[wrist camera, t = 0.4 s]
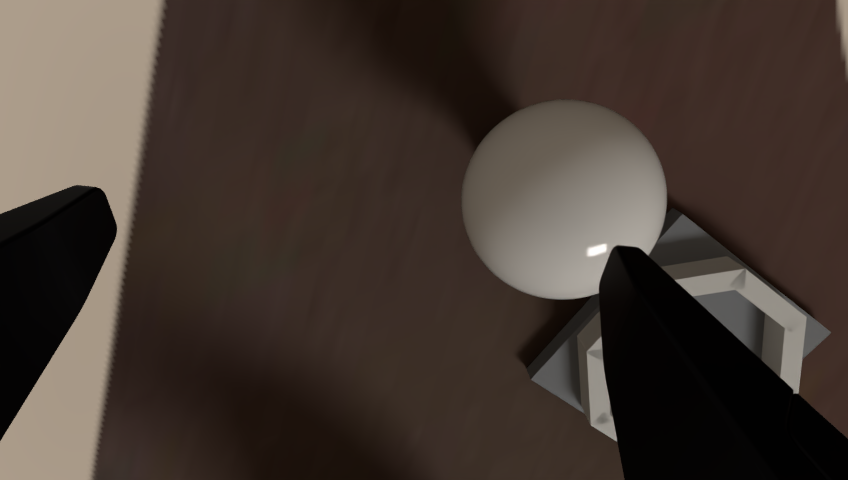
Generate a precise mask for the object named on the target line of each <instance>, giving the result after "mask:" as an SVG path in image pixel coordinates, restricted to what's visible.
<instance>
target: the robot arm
mask: <svg viewBox="0 0 848 480" xmlns="http://www.w3.org/2000/svg"><path fill="white" fill-rule="evenodd" d="M116 233H117V225H116V222H115V219H114V216H113V214H112V211H111V208H110V205H109V203H108V200H107V197H106V195H105V193H104V192H103V191H102V190H101V189H100V188H97V187H89V186H81V185H76V186H72V187H70V188H67V189H64V190H62V191H59V192H56V193H54V194H51V195H49V196H46V197H44V198H41V199H38V200H36V201H33V202H30V203H28V204H25V205H23V206H20V207H17V208H15V209H12V210H10V211H7V212H4V213H2V214H0V441H1V439H2V437H3V435H4V434H5V432H6V431H7V429H8V428H9V426H10V424H11V423H12V421H13V419H14V418H15V416H16V415H17V413H18V411H19V410H20V408H21V407H22V405H23V403H24V402H25V400H26V398H27V397H28V395H29V394H30V392H31V390H32V389H33V387H34V385H35V384H36V382H37V381H38V379H39V377H40V375H41V374H42V373H43V371H44V369H45V368H46V366H47V364H48V363H49V361H50V360H51V358H52V356H53V355H54V353H55V351H56V350H57V348H58V347H59V345H60V343H61V342H62V340H63V338H64V337H65V335H66V334H67V332H68V330H69V329H70V327H71V326H72V324H73V322H74V320H75V319H76V317H77V316H78V314H79V312H80V310H81V309H82V307H83V305H84V303H85V301H86V299H87V297H88V295H89V293H90V291H91V289H92V287H93V285H94V282H95V280H96V278H97V276H98V274H99V272H100V270H101V267H102V265H103V263H104V261H105V259H106V257H107V255H108V253H109V251H110V248H111V246H112V244H113V242H114V240H115V237H116ZM599 306H600V322H601V338H602V354H603V365H604V373H605V379H606V385H607V390H608V395H609V400H610V405H611V411H612V416H613V421H614V426H615V431H616V437H617V442H618V447H619V452H620V458H621V463H622V468H623V473H624V478H625V480H848V438H847V437H845V436H844V435H843V434H842V433H841V432H840V431H839V430H838V429H836V428H835V427H834V426H833V425H832V424H831V423H830V422H829V421H827V420H826V419H825V418H824V417H823V416H822V415H821V414H820V413H818V412H817V411H816V410H815V409H814V408H813V407H812V406H811V405H810V404H809V403H808V402H807V401H805V400H804V399H803V398H802V397H801V396H800V395H799V394H797V393H795V394H793V393H794V390H793V389H792V388H791V387H790V386H789V385H788V384H787V383H786V382H785V381H784V380H783V379H781V378H780V377H779V376H778V375H777V374H776V373H775V372H774V371H773V370H772V369H771V368H770V367H768V366H767V365H766V364H765V363H764V362H763V361H762V360H761V359H760V358H759V357H758V356H757V355H755V354H754V353H753V352H752V351H751V350H750V349H749V348H748V347H747V346H746V345H745V344H744V343H742V342H741V341H740V340H739V339H738V338H737V337H736V336H735V335H734V334H733V333H732V332H731V331H729V330H728V329H727V328H726V327H725V326H724V325H723V324H722V323H721V322H720V321H719V320H718V319H716V318H715V317H714V316H713V315H712V314H711V313H710V312H709V311H708V310H707V309H706V308H705V307H703V306H702V305H701V304H700V303H699V302H698V301H697V300H696V299H695V298H694V297H693V296H692V295H690V294H689V293H688V292H687V291H686V290H685V289H684V288H683V287H682V286H681V285H680V284H679V283H677V282H676V281H675V280H674V279H673V278H672V277H671V276H670V275H669V274H668V273H667V272H666V271H664V270H663V269H662V268H661V267H660V266H659V265H658V264H657V263H656V262H655V261H654V260H653V259H651V258H650V257H649V256H648V255H647V254H646V253H645V252H644V251H643V250H642V249H640V248H638V247H633V246H624V245H616V246H615V247H613V249H612V250H611V252H610V255H609V258H608V260H607V263H606V265H605V268H604V271H603V273H602V276H601V279H600V283H599Z"/></svg>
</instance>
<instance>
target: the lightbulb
mask: <svg viewBox="0 0 848 480" xmlns="http://www.w3.org/2000/svg"><path fill="white" fill-rule="evenodd" d="M666 209H667V186H666V180H665V175H664V172H663V168H662V165H661V163H660V160H659V158H658V156H657V154H656V152H655V150H654V148H653V147H652V145H651V143H650V142H649V141H648V139H647V138H646V137H645V135H644V134H643V133H642V132H641V131H640V130H639V129H638V128H637V127H636V126H635V125H634V124H633V123H632V122H630V121H629V120H628V119H626V118H625V117H623V116H622V115H620V114H619V113H617V112H615V111H613V110H611V109H609V108H607V107H604V106H602V105H599V104H595V103H592V102H587V101H581V100H571V99H561V100H550V101H545V102H540V103H537V104H533V105H530V106H528V107H525V108H523V109H521V110H518V111H517V112H515V113H513V114H511V115H510V116H508V117H506V118H505V119H504V120H502V121H501V122H500V123H498V124H497V125H496V126H495V127H494V128H493V129H492V130H491V131H490V132H489V133H488V134H487V135H486V136H485V137H484V139H483V140H482V141H481V142H480V144H479V145H478V147H477V148H476V150H475V152H474V153H473V155H472V157H471V159H470V161H469V164H468V166H467V169H466V172H465V176H464V180H463V185H462V192H461V210H462V218H463V223H464V227H465V230H466V233H467V236H468V238H469V241H470V243H471V245H472V247H473V249H474V250H475V252H476V254H477V255H478V257H479V258H480V259H481V261H482V262H483V263H484V264H485V266H486V267H487V268H488V269H489V270H490V271H491V272H492V273H493V274H494V275H496V276H497V277H498V278H499V279H501V280H502V281H503V282H505V283H506V284H508V285H510V286H511V287H513V288H515V289H517V290H519V291H522V292H524V293H527V294H530V295H533V296H537V297H541V298H547V299H557V300H567V299H578V298H583V297H588V296H592V295H595V294H598V293H599V283H600V279H601V276H602V273H603V271H604V268H605V265H606V263H607V260H608V258H609V255H610V252H611V250H612V249H613V247H615V246H616V245H624V246H633V247H638V248H640V249H642V250H643V251H644V252H645V253H646V254H647V255H648V256H649V254H650V253H651V251H652V249H653V248H654V246H655V244H656V242H657V240H658V238H659V236H660V233H661V231H662V228H663V224H664V220H665V216H666Z"/></svg>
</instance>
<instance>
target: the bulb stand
mask: <svg viewBox="0 0 848 480" xmlns="http://www.w3.org/2000/svg"><path fill="white" fill-rule="evenodd" d="M649 257H650V258H651V259H653V260H654V261H655V262H656V263H657V264H658V265H659V266H660V267H661V268H662V269H663V270H664V271H666V272H667V273H668V274H669V275H670V276H671V277H672V278H673V279H674V280H675V281H676V282H677V283H679V284H680V285H681V286H682V287H683V288H684V289H685V290H686V291H687V292H688V293H689V294H690V295H692V296H693V297H694V298H695V299H696V300H697V301H698V302H699V303H700V304H701V305H702V306H703V307H705V308H706V309H707V310H708V311H709V312H710V313H711V314H712V315H713V316H714V317H715V318H716V319H718V320H719V321H720V322H721V323H722V324H723V325H724V326H725V327H726V328H727V329H728V330H729V331H731V332H732V333H733V334H734V335H735V336H736V337H737V338H738V339H739V340H740V341H741V342H742V343H744V344H745V345H746V346H747V347H748V348H749V349H750V350H751V351H752V352H753V353H754V354H755V355H757V356H758V357H759V358H760V359H761V360H762V361H763V362H764V363H765V364H766V365H767V366H768V367H770V368H771V369H772V370H773V371H774V372H775V373H776V374H777V375H778V376H779V377H780V378H781V379H783V380H784V381H785V382H786V383H787V384H788V385H789V386H790V387H791V388H792V389H793V390H794V393H793V394H795V393H797V394H798V393H799V384H800V374H801V365H802V359H803V358H804V357H805V356H806V355H807V354H809V353H810V352H811V351H812V350H813V349H814V348H815V347H816V346H817V345H818V344H819V343H820V342H822V341H823V340H824V339H825V338H826V337H827V336H828V335H829V334H830V333H831V332H830V331H829V330H827V329H826V328H825V327H824V326H822V325H821V324H820V323H819V322H817V321H816V320H815V319H814V318H812V317H811V316H810V315H809V314H807V313H806V312H805V311H804V310H802V309H801V308H800V307H799V306H797V305H796V304H795V303H794V302H792V301H791V300H790V299H789V298H787V297H786V296H785V295H784V294H782V293H781V292H780V291H779V290H777V289H776V288H775V287H774V286H772V285H771V284H770V283H769V282H767V281H766V280H765V279H764V278H762V277H761V276H760V275H758V274H757V273H756V272H755V271H753V270H752V269H751V268H750V267H748V266H747V265H746V264H745V263H743V262H742V261H741V260H740V259H738V258H737V257H736V256H735V255H733V254H732V253H731V252H730V251H728V250H727V249H726V248H725V247H723V246H722V245H721V244H720V243H718V242H717V241H716V240H715V239H713V238H712V237H711V236H710V235H708V234H707V233H706V232H705V231H703V230H702V229H701V228H700V227H698V226H697V225H696V224H695V223H693V222H692V221H691V220H690V219H688V218H687V217H686V216H685V215H683V214H682V213H680V212H679V211H677V210H676V209H674V208H672V209H671V210H670V211H669V212H668V213H667V214H666V216H665V220H664V224H663V228H662V231H661V233H660V236H659V238H658V240H657V242H656V244H655V246H654V248H653V249H652V251H651V253H650V254H649ZM527 371H528V373H529V376H530V379H531V380H533V381H534V382H536V383H537V384H539V385H540V386H542V387H544V388H545V389H547V390H548V391H550V392H551V393H553V394H555V395H556V396H558V397H559V398H561V399H563V400H564V401H566V402H567V403H569V404H570V405H572V406H574V407H575V408H577V409H578V410H580V411H581V412H583V413H585V415H586V417H587V419H588V421H589V423H590V425H591V426H593V427H595V428H596V429H598V430H599V431H601V432H602V433H604V434H606V435H607V436H609V437H610V438H612V439H614V440H615V441H617V437H616V431H615V426H614V421H613V416H612V411H611V405H610V400H609V395H608V390H607V385H606V379H605V373H604V365H603V354H602V338H601V322H600V306H599V293H598V294H595V295H593V296H592V297H591V298H590V299H589V300H588V301H587V302H586V303H585V305H584V306H583V307H582V308H581V309H580V310H579V311H578V312H577V313H576V314H575V316H574V317H573V318H572V319H571V320H570V321H569V322H568V323H567V324H566V326H565V327H564V328H563V329H562V330H561V331H560V332H559V333H558V334H557V335H556V337H555V338H554V339H553V340H552V341H551V342H550V343H549V344H548V345H547V346H546V348H545V349H544V350H543V351H542V352H541V353H540V354H539V355H538V356H537V357H536V359H535V360H534V361H533V362H532V363H531V364H530V365H529V366H528V367H527Z"/></svg>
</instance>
